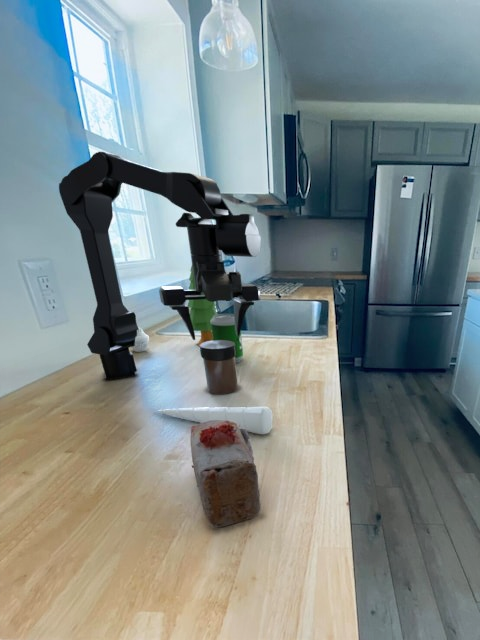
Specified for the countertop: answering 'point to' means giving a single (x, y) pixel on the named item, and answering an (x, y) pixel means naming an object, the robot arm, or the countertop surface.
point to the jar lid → (218, 350)
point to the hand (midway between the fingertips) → (216, 337)
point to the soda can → (227, 332)
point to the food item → (225, 472)
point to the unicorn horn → (228, 416)
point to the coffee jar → (221, 375)
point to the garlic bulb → (141, 341)
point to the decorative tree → (201, 314)
